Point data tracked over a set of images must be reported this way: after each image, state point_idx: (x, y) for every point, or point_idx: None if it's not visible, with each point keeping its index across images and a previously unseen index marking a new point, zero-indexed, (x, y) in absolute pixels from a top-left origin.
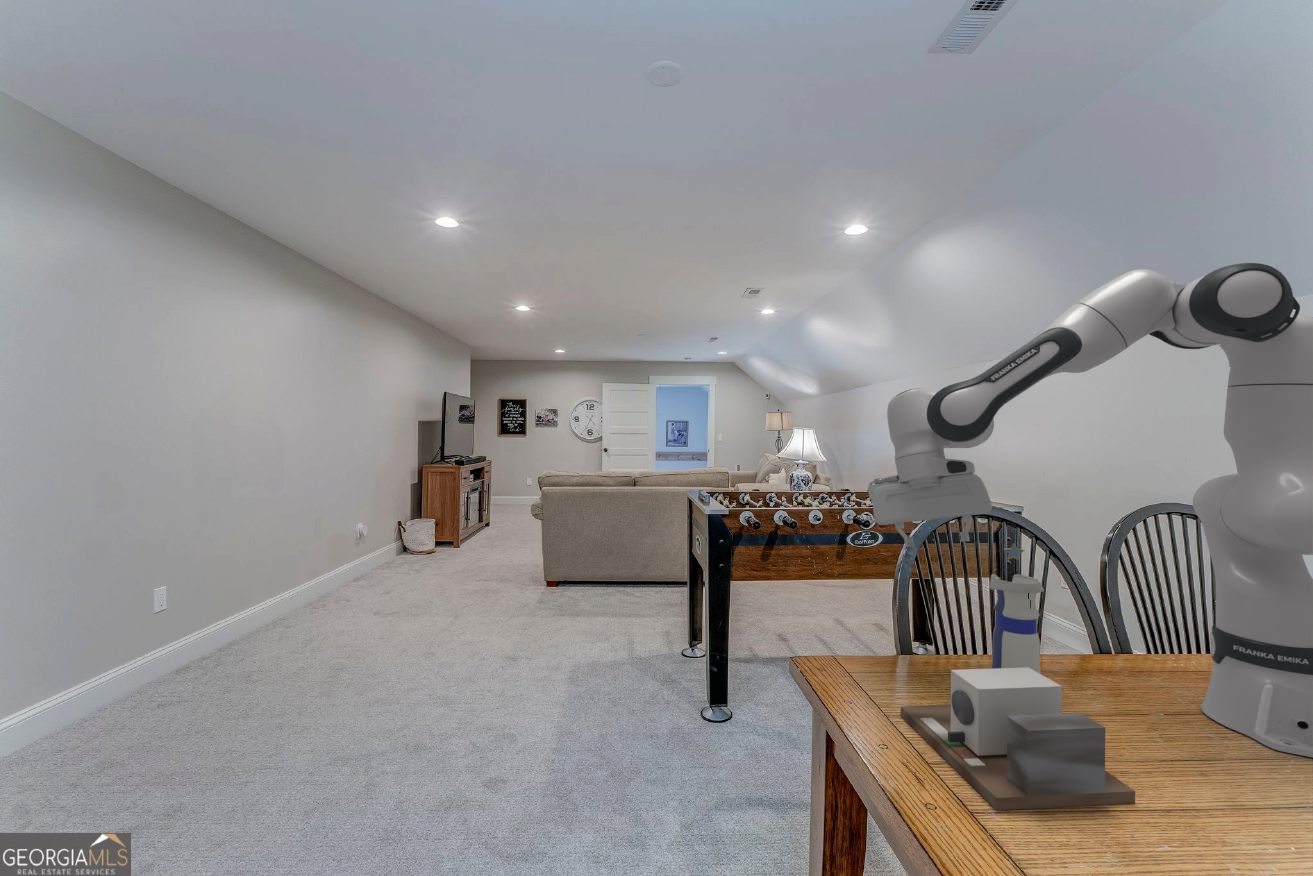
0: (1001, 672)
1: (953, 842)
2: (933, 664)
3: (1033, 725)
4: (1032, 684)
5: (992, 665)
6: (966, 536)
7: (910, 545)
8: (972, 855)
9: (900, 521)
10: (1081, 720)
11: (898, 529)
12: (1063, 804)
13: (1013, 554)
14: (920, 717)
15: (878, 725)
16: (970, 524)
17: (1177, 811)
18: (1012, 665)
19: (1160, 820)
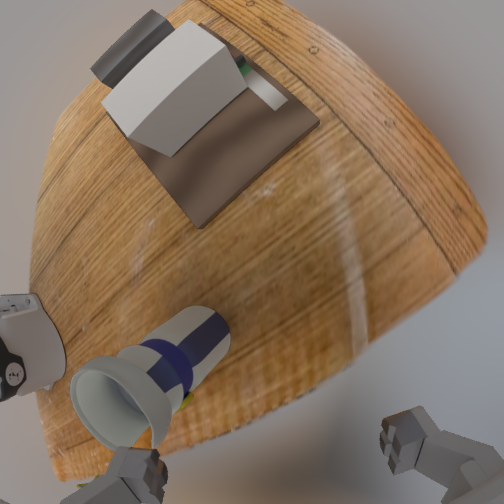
0: (160, 87)
1: None
2: (313, 345)
3: (145, 20)
4: (128, 79)
5: (220, 338)
6: (122, 458)
7: (398, 413)
8: None
9: (492, 478)
10: (104, 65)
11: (480, 449)
12: None
13: None
14: (288, 105)
15: (334, 86)
16: (77, 492)
17: (91, 128)
18: (186, 317)
19: (103, 106)
